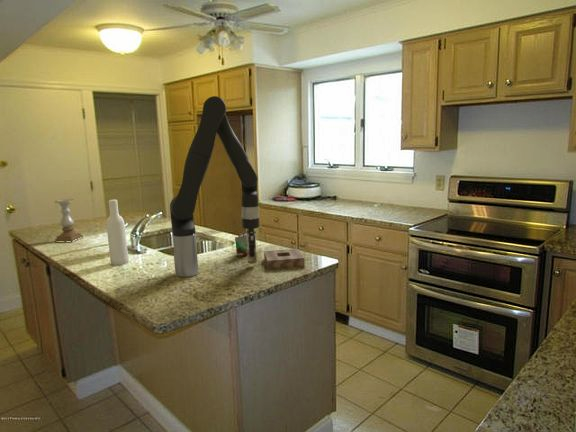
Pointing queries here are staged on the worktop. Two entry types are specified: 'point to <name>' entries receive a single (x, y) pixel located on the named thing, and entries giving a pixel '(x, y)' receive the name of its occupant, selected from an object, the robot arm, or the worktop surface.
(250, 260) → the dowel
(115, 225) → the bottle
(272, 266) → the socket block
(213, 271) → the worktop surface
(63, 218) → the candle holder
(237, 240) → the food container
